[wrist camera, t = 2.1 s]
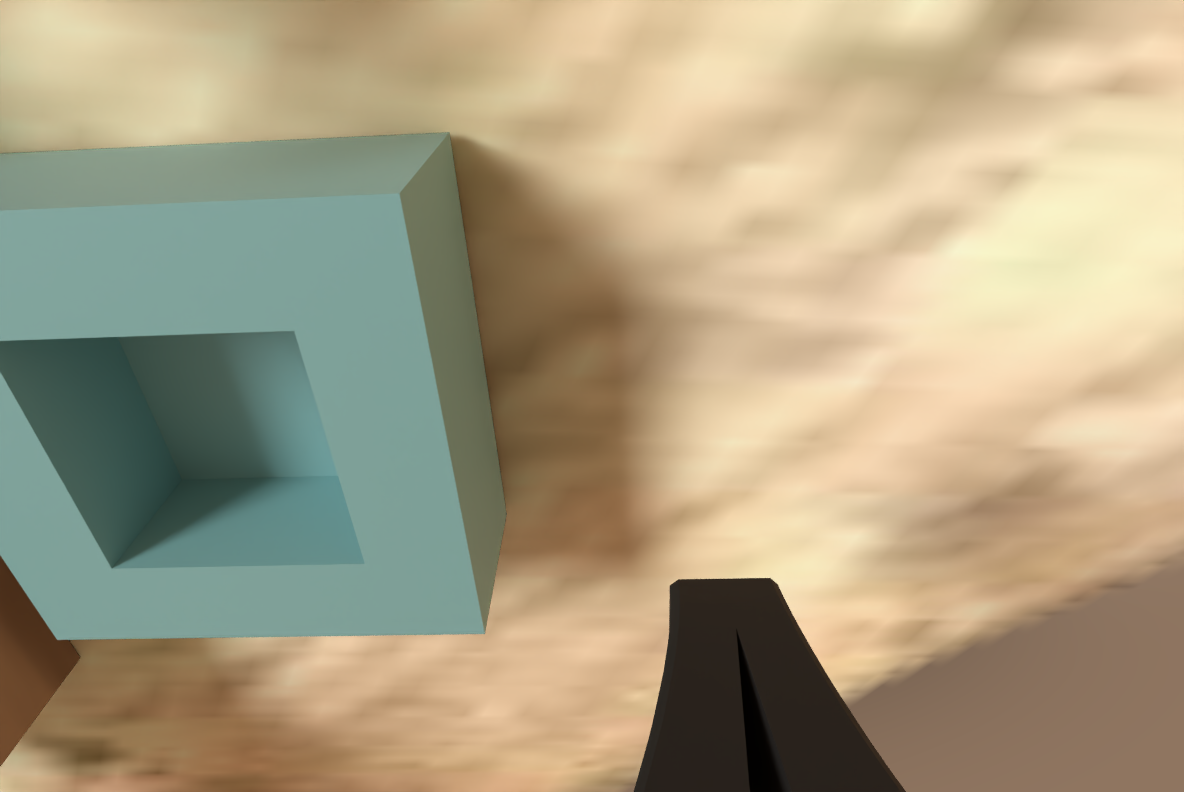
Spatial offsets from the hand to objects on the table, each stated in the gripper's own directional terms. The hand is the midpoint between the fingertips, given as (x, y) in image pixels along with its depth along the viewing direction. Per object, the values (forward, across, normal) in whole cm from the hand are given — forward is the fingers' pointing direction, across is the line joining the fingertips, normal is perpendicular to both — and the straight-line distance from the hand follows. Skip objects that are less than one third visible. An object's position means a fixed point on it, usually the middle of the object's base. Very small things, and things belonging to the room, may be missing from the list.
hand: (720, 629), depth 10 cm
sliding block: (+8, +10, 0) cm, 13 cm away
